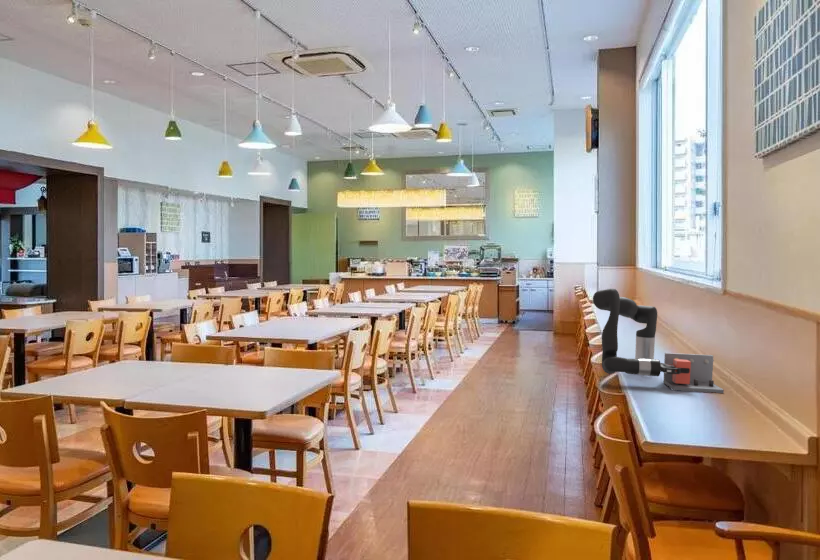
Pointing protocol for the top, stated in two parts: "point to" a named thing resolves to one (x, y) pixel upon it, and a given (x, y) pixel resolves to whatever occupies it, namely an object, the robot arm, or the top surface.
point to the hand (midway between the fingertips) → (687, 369)
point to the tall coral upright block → (682, 377)
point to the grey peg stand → (694, 373)
